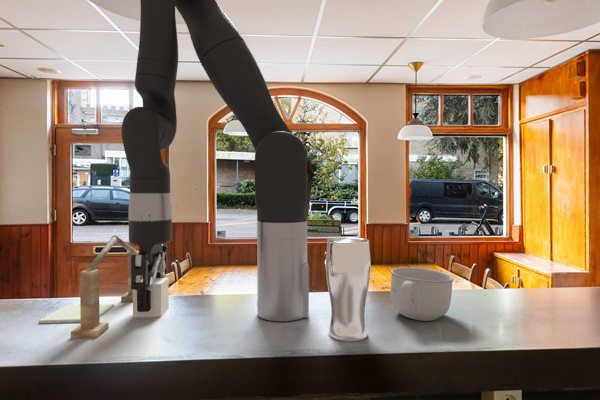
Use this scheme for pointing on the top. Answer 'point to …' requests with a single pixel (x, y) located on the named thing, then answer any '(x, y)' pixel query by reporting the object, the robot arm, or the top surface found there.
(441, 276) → the teacup
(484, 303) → the top surface
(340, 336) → the beer glass
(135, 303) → the cream block
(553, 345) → the top surface
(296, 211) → the robot arm
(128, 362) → the top surface
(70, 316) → the mat
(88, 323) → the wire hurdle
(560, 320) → the top surface
